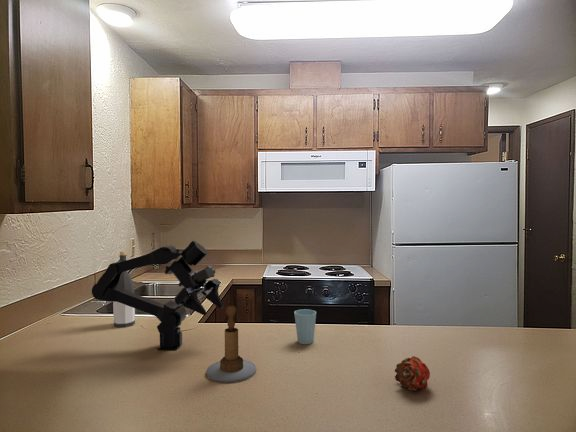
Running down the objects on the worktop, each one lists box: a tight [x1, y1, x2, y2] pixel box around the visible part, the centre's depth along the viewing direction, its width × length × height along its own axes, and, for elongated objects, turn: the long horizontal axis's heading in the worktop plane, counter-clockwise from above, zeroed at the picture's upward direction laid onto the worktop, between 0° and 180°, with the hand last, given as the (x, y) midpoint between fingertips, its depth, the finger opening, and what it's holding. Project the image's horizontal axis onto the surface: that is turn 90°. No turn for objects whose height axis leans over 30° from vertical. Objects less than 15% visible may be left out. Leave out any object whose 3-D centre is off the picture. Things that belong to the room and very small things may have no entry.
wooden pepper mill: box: [219, 305, 244, 373], centre depth 114 cm, size 7×6×18 cm
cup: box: [293, 308, 317, 345], centre depth 139 cm, size 8×8×10 cm
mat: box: [206, 359, 257, 384], centre depth 114 cm, size 14×14×1 cm
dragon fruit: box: [394, 355, 431, 392], centre depth 103 cm, size 8×8×12 cm
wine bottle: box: [112, 250, 136, 329], centre depth 161 cm, size 8×8×30 cm
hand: (213, 310), depth 129 cm, fingers open, 9 cm apart
